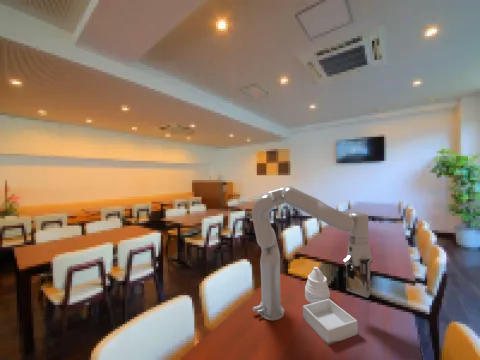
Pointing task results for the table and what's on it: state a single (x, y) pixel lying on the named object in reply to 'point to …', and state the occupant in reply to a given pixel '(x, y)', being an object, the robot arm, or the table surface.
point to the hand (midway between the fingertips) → (358, 275)
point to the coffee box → (360, 279)
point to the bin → (330, 321)
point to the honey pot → (316, 287)
